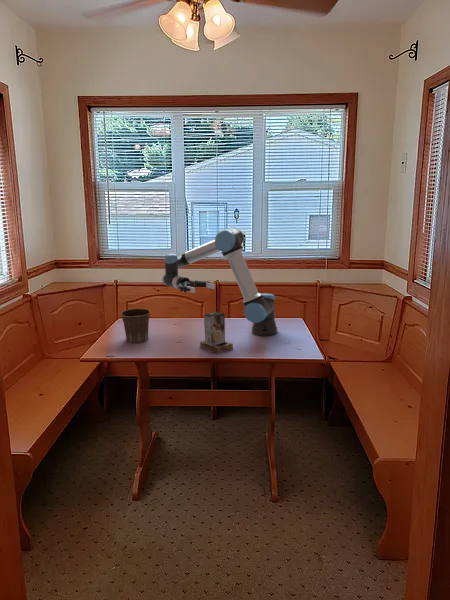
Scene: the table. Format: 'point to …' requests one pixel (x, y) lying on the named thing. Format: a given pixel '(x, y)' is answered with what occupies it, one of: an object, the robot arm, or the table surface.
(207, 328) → the coffee box
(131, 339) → the plant pot
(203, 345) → the brown open rectangular frame
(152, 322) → the table surface
